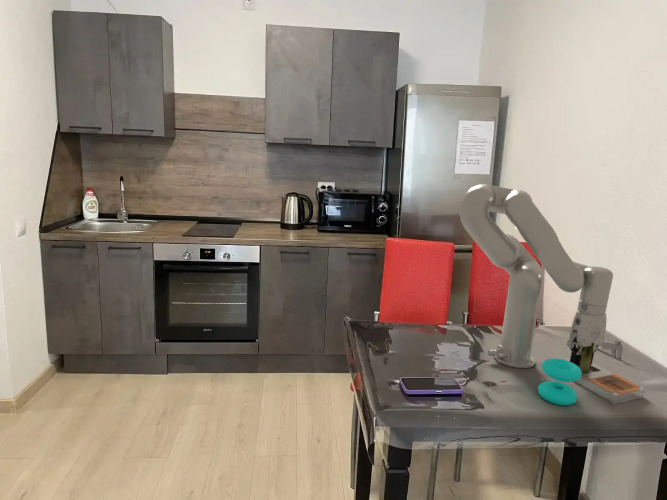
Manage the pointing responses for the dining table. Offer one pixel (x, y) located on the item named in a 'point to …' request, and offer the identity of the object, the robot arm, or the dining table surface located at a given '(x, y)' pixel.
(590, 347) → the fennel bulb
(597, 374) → the orange and grey tray
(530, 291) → the robot arm
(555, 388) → the donuts
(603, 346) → the caliper
